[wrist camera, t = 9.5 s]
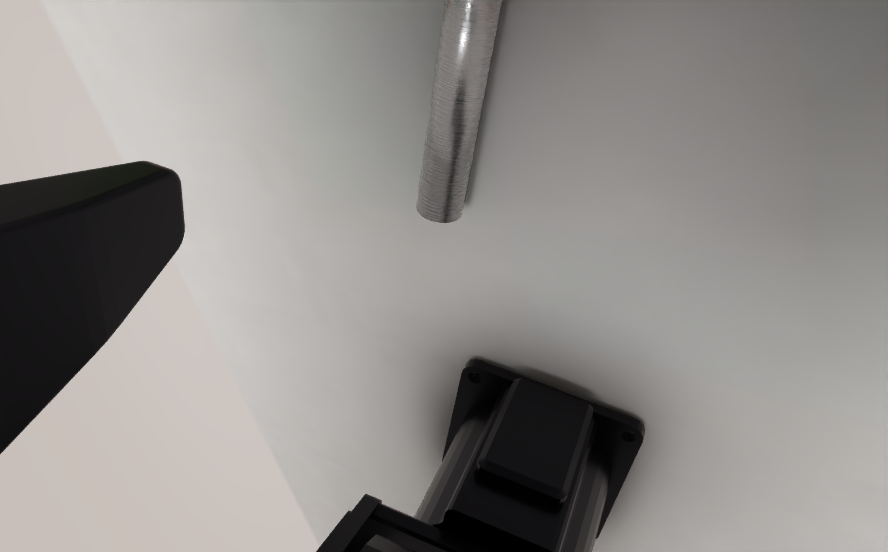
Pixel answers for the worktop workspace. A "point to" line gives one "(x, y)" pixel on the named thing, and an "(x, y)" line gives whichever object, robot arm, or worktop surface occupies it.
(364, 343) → the worktop surface
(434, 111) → the rod
